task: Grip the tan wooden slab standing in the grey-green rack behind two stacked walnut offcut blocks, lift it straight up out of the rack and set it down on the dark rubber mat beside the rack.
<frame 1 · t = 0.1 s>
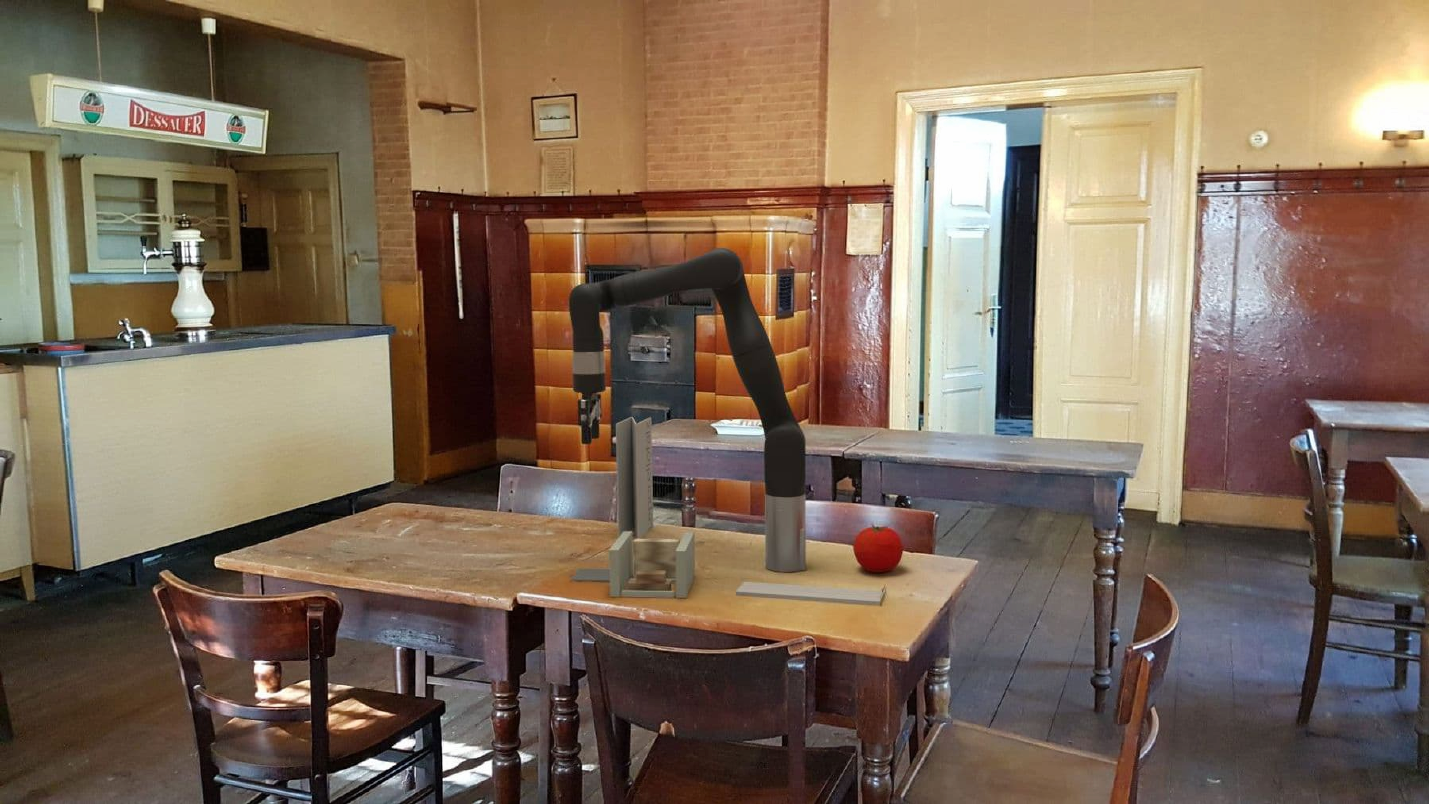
hand: (590, 441, 240), 29 cm above the table, tool pointing down, fingers open, 8 cm apart
tan wooden slab: (657, 580, 229), resting in rack
brochure: (636, 534, 272), on the table
tomato: (877, 570, 236), on the table
rack: (657, 579, 229), on the table
baseboard: (811, 597, 218), on the table
offcut top: (651, 581, 219), point 3 cm above the table, touching offcut bottom
mat: (596, 576, 233), on the table
offcut bottom: (649, 595, 219), resting in rack, touching offcut top
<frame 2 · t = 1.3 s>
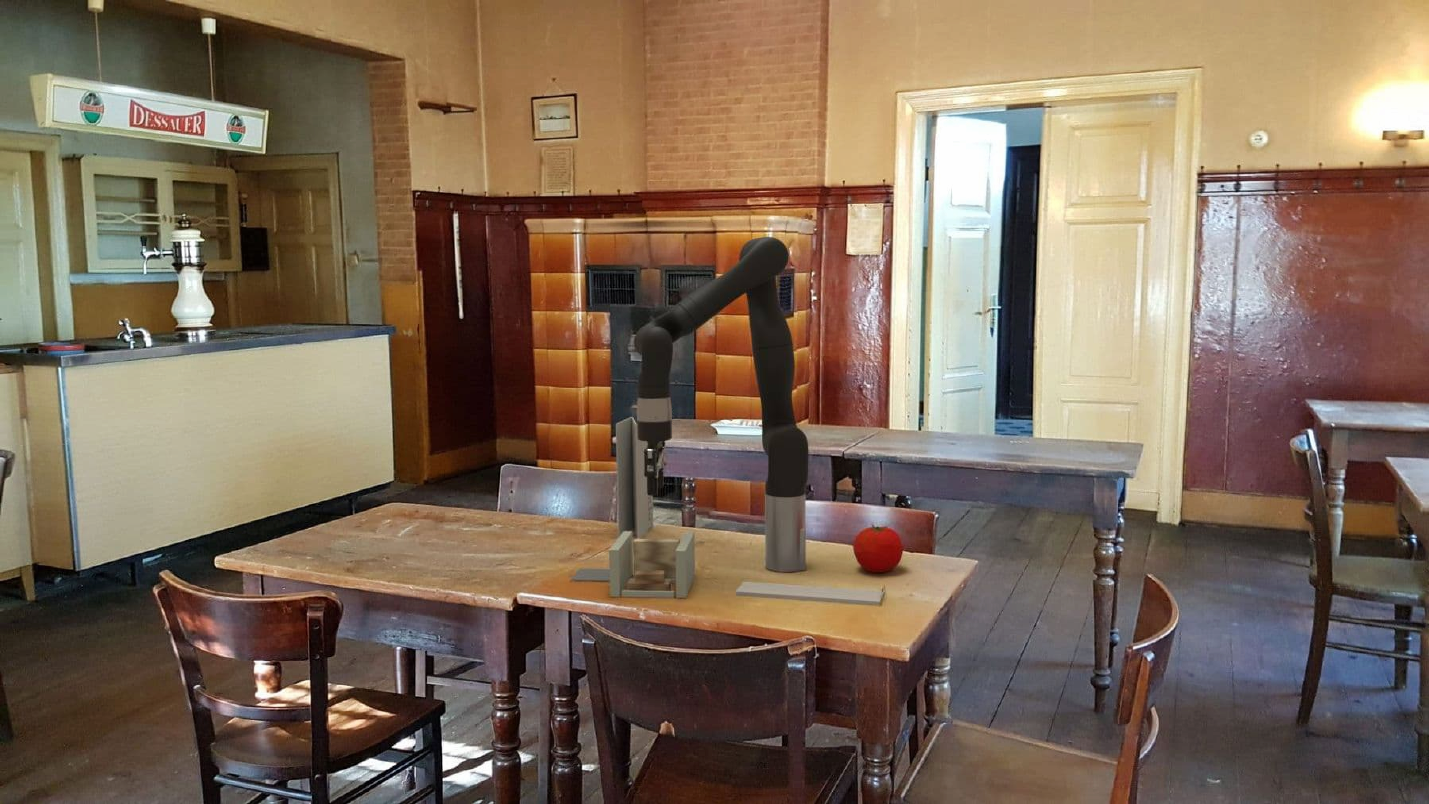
hand: (655, 491, 227), 20 cm above the table, tool pointing down, fingers open, 8 cm apart
nothing on the table moved.
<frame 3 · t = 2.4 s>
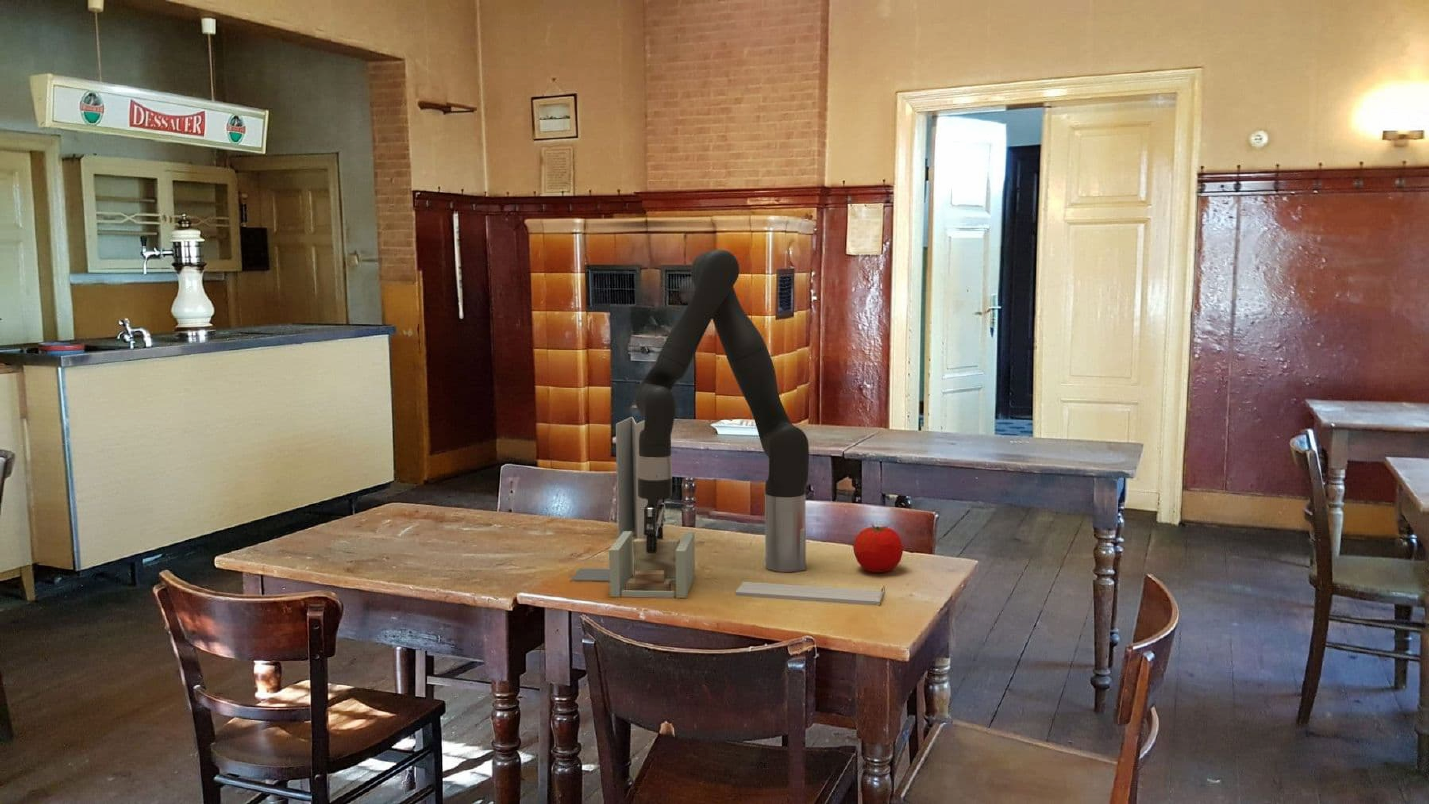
hand: (654, 548, 229), 7 cm above the table, tool pointing down, fingers open, 8 cm apart
nothing on the table moved.
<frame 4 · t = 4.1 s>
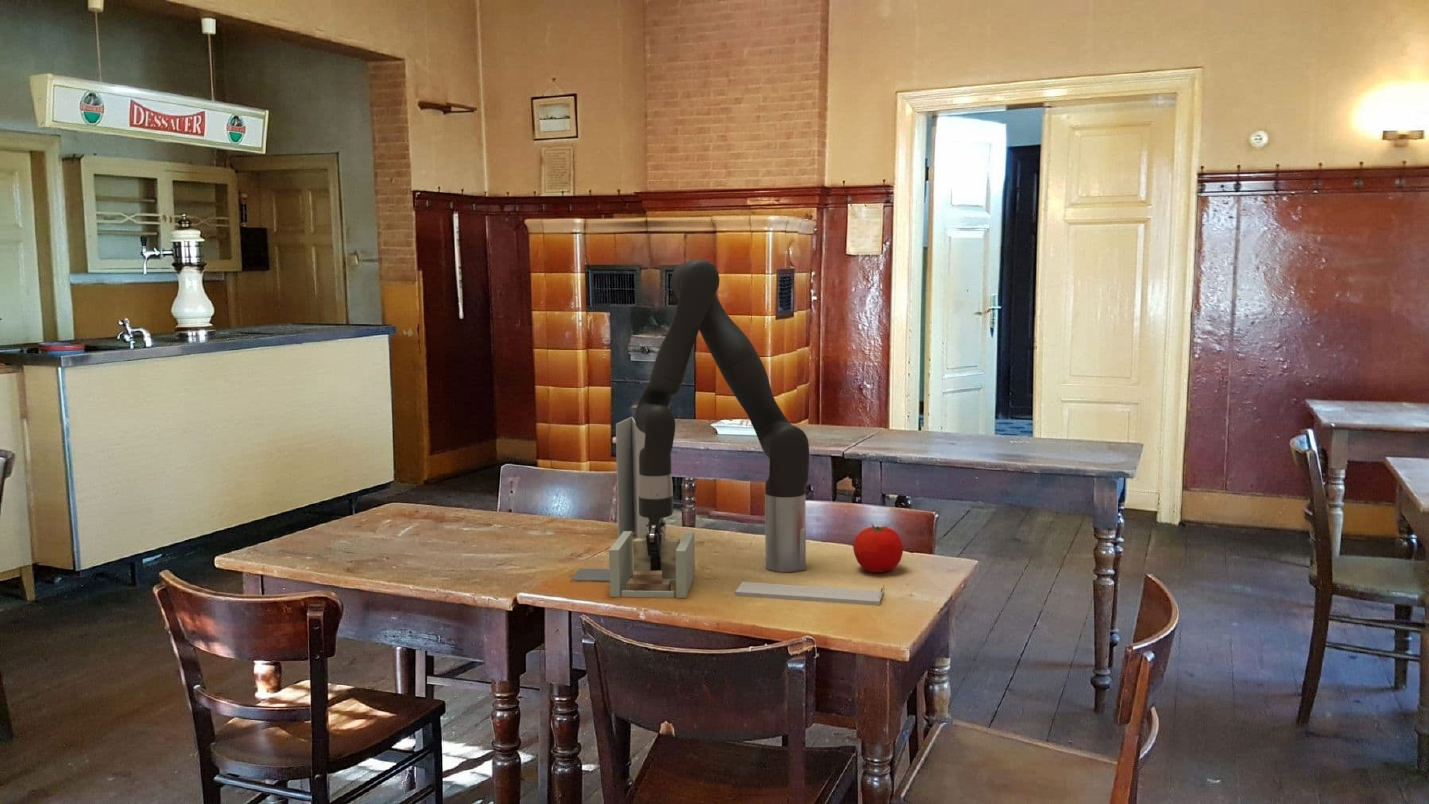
hand: (656, 570, 229), 2 cm above the table, tool pointing down, fingers closed on tan wooden slab, 2 cm apart
tan wooden slab: (657, 579, 229), resting in rack, touching gripper
offcut top: (647, 581, 219), point 3 cm above the table
offcut bottom: (649, 595, 219), resting in rack
everything else where it was.
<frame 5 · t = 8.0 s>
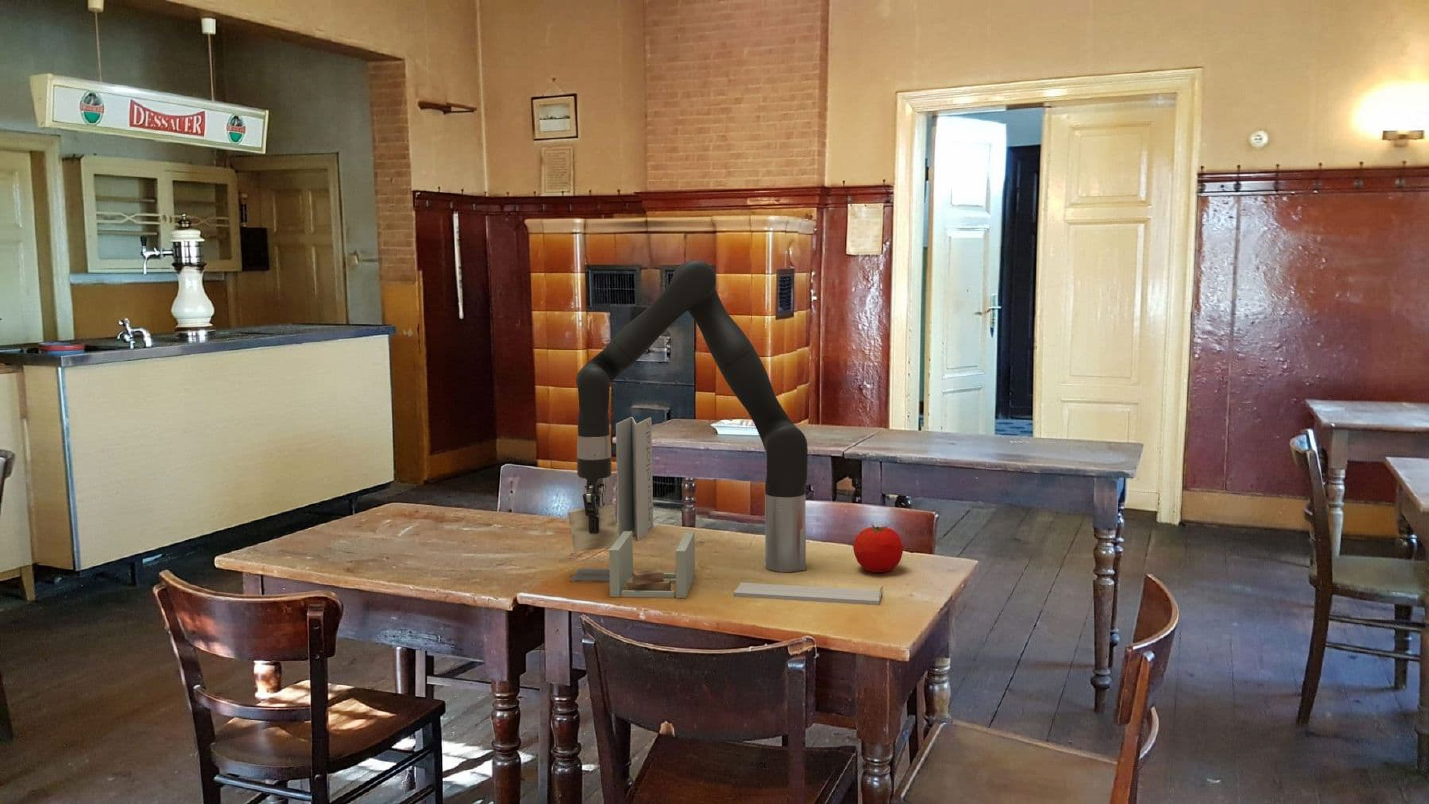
hand: (595, 531, 232), 10 cm above the table, tool pointing down, fingers closed on tan wooden slab, 2 cm apart
tan wooden slab: (597, 547, 232), point 7 cm above the table, tilted 8°, touching gripper
offcut top: (648, 581, 219), point 3 cm above the table, touching offcut bottom
offcut bottom: (648, 594, 220), resting in rack, touching offcut top
everything else where it was.
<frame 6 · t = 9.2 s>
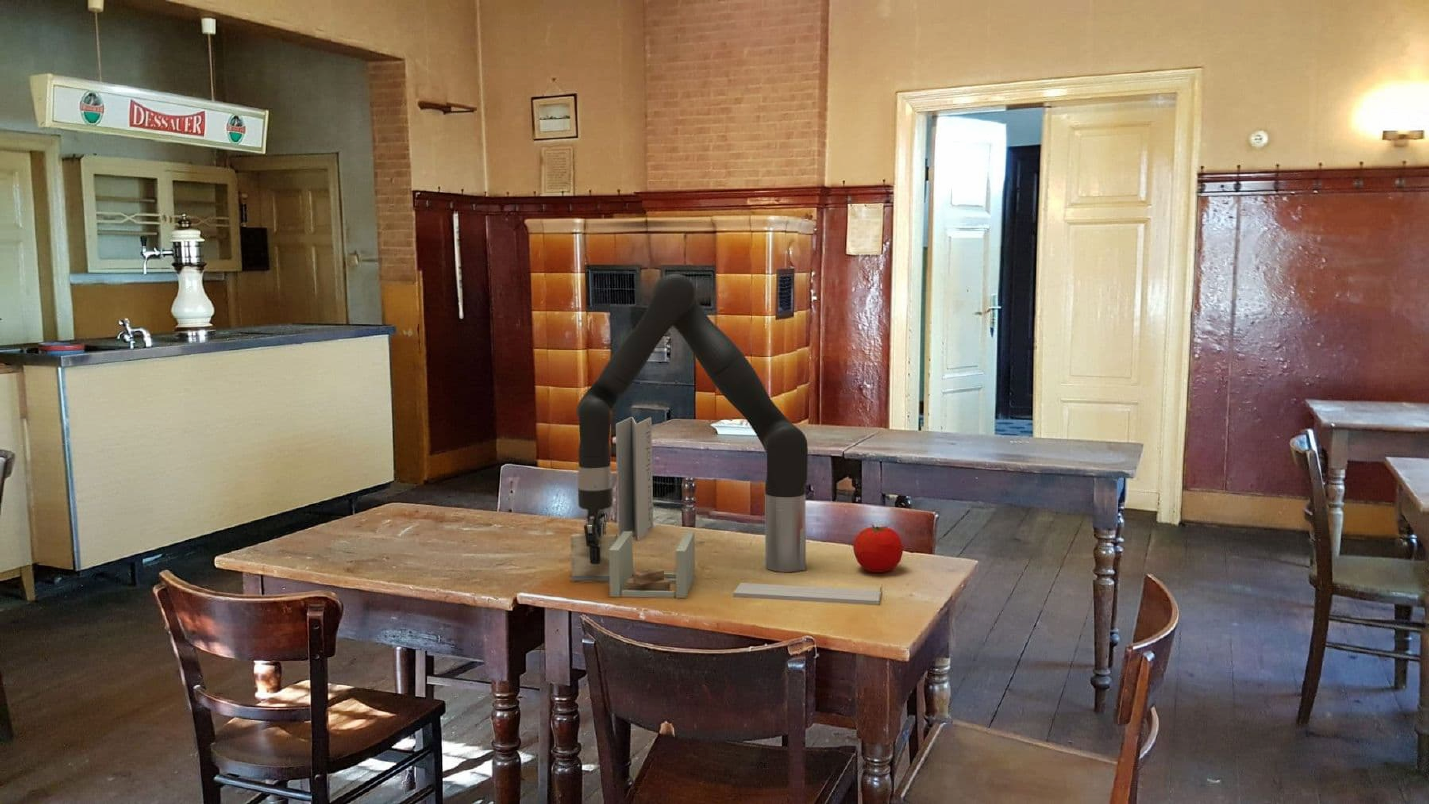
hand: (596, 561, 232), 3 cm above the table, tool pointing down, fingers closed on tan wooden slab, 2 cm apart
tan wooden slab: (595, 574, 233), resting on mat, touching gripper
when the fingers open (3 cm above the table, at t = 10.0 s): tan wooden slab stays where it is, resting on mat.
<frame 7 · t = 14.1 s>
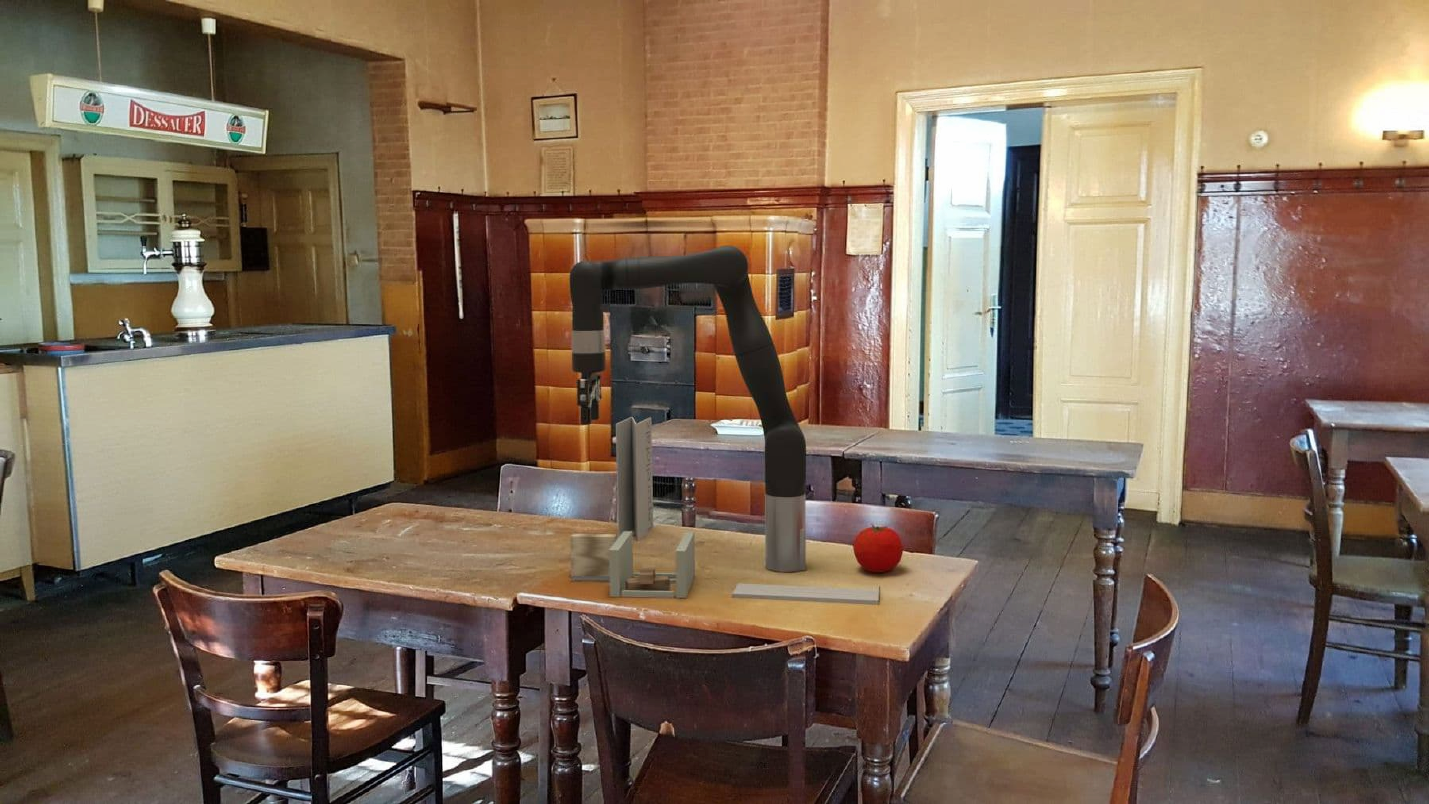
hand: (590, 422, 235), 34 cm above the table, tool pointing down, fingers open, 8 cm apart
tan wooden slab: (594, 574, 233), resting on mat
offcut bottom: (647, 592, 221), resting in rack, touching offcut top
at the end: tan wooden slab inside the target area on the mat (0.5 cm from its centre), point 0.4 cm above the mat's base; tan wooden slab touching mat; the gripper is holding nothing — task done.
